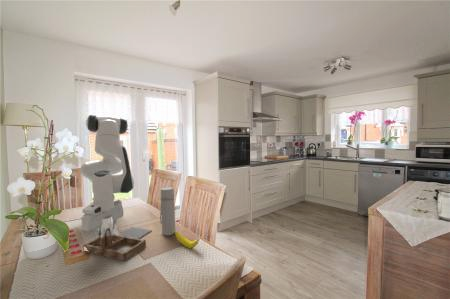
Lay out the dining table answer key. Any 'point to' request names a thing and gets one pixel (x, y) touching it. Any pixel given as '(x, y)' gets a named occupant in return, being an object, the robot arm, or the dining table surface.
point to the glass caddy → (110, 249)
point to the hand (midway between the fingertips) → (105, 232)
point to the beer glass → (106, 232)
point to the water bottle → (167, 211)
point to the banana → (186, 241)
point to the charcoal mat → (135, 232)
